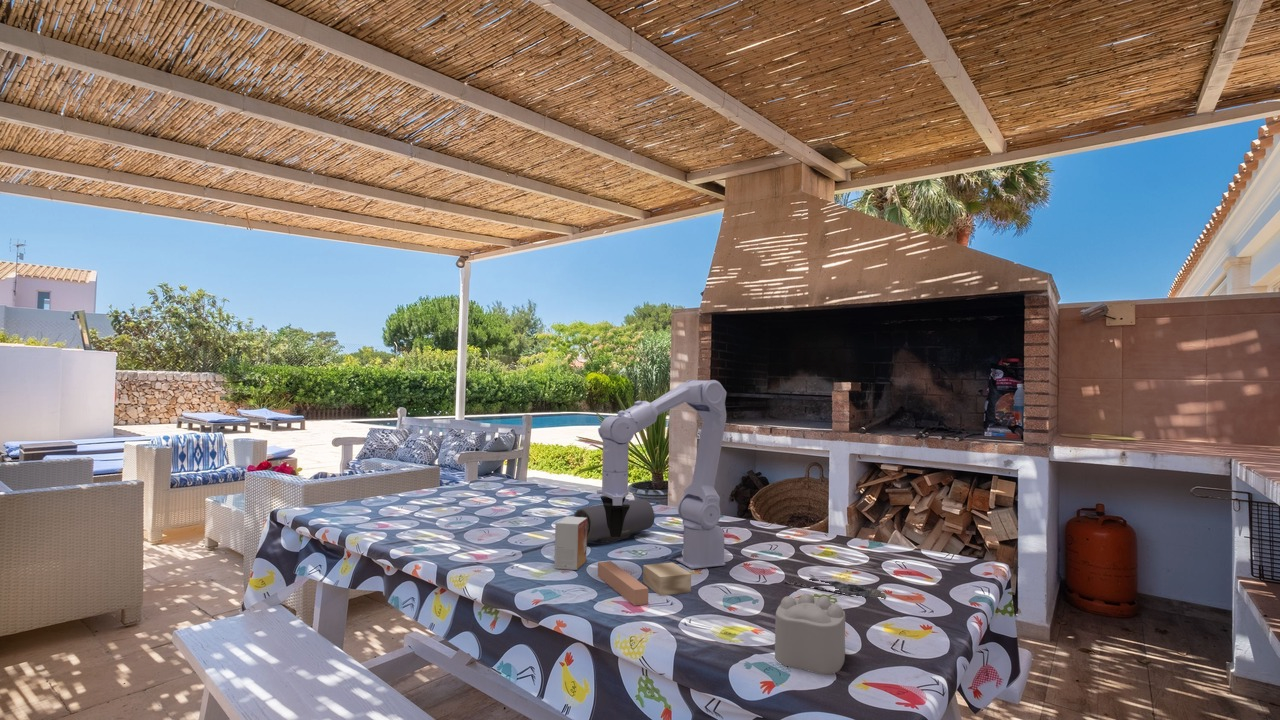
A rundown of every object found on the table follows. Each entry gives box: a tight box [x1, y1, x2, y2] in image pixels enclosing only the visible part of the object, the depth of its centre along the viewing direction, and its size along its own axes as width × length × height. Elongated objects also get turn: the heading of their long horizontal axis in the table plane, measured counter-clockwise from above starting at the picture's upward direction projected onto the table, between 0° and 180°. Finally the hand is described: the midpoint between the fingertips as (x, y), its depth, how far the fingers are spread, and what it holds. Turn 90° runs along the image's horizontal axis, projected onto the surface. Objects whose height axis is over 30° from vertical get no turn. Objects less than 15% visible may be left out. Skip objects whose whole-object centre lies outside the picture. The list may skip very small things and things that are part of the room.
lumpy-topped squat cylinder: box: [774, 593, 846, 675], centre depth 103 cm, size 10×13×9 cm
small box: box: [553, 516, 588, 571], centre depth 149 cm, size 8×6×10 cm
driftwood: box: [783, 577, 886, 598], centre depth 136 cm, size 21×7×2 cm, turn 57°
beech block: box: [642, 562, 692, 597], centre depth 134 cm, size 7×9×4 cm
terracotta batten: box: [597, 560, 649, 607], centre depth 132 cm, size 3×20×3 cm, turn 24°
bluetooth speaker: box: [573, 499, 655, 543], centre depth 175 cm, size 23×9×10 cm, turn 133°
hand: (614, 532), depth 140 cm, fingers open, 7 cm apart
